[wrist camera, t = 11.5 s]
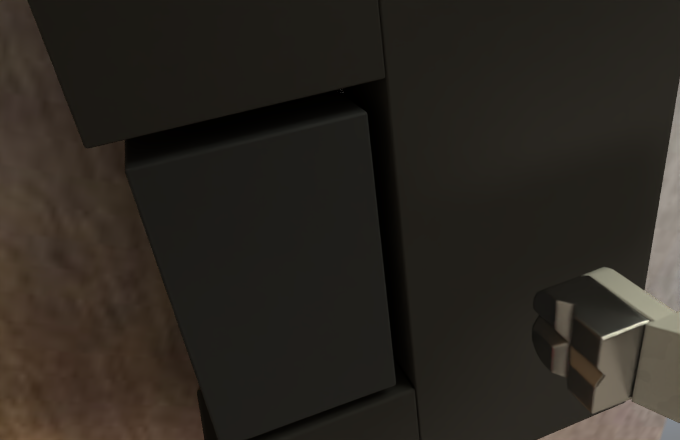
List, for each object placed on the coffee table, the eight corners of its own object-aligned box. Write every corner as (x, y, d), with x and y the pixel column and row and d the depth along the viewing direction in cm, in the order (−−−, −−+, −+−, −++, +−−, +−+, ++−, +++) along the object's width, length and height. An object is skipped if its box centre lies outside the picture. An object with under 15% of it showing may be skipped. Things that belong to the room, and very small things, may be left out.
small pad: (124, 125, 13) (123, 170, 11) (324, 80, 14) (368, 111, 12) (206, 373, 17) (221, 450, 14) (359, 323, 18) (397, 385, 16)
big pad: (8, -122, 10) (-28, -142, 8) (619, -199, 14) (732, -231, 11) (230, 481, 19) (246, 563, 17) (569, 350, 22) (626, 402, 20)
